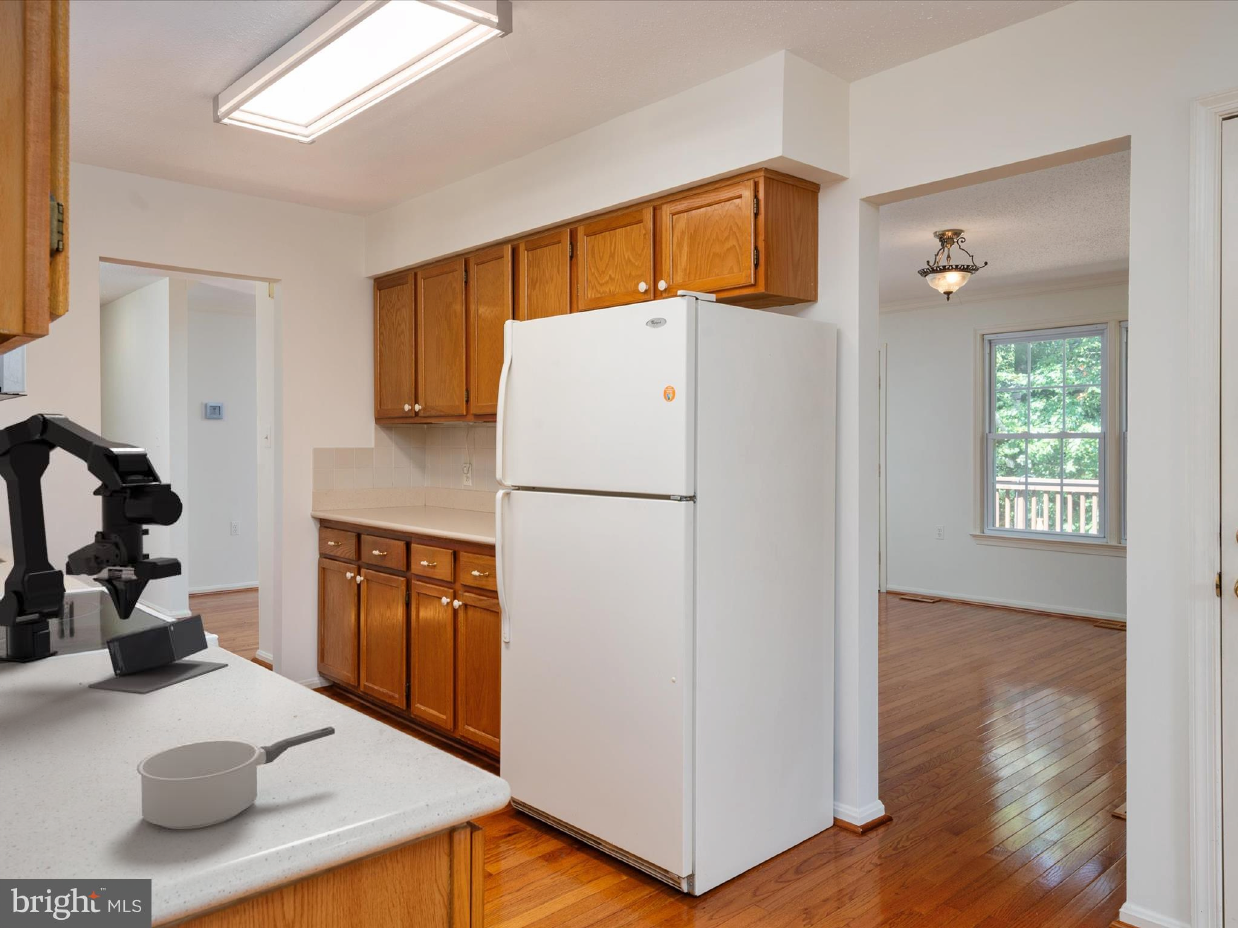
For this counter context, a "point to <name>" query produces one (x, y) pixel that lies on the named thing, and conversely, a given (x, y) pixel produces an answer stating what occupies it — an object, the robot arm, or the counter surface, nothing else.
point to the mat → (158, 676)
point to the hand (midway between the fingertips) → (124, 619)
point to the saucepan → (207, 779)
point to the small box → (156, 645)
